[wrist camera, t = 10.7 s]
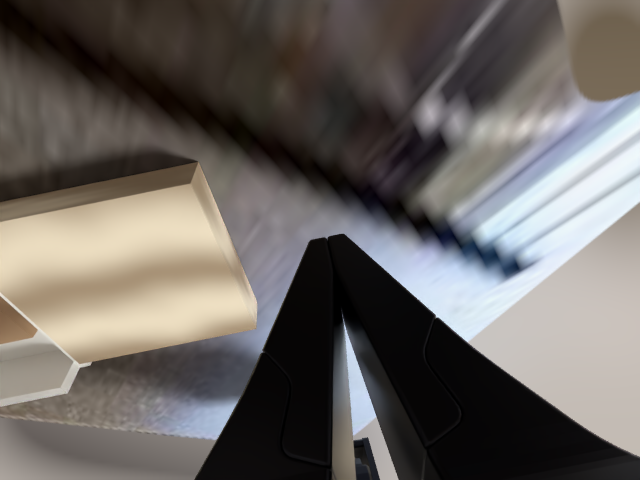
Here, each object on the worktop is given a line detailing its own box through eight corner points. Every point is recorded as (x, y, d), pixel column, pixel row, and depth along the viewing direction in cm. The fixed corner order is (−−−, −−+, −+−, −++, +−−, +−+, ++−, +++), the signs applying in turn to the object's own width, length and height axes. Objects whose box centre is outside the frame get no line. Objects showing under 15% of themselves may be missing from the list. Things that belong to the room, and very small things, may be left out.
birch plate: (257, 302, 26) (256, 328, 24) (93, 335, 27) (79, 364, 25) (198, 162, 19) (190, 183, 17) (-29, 208, 19) (-63, 234, 17)
